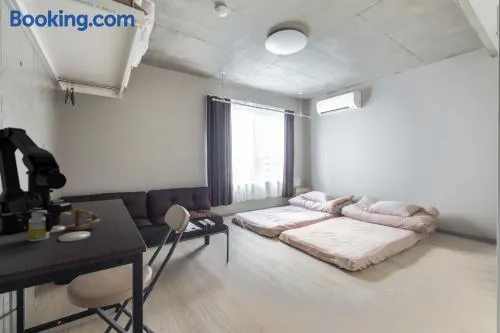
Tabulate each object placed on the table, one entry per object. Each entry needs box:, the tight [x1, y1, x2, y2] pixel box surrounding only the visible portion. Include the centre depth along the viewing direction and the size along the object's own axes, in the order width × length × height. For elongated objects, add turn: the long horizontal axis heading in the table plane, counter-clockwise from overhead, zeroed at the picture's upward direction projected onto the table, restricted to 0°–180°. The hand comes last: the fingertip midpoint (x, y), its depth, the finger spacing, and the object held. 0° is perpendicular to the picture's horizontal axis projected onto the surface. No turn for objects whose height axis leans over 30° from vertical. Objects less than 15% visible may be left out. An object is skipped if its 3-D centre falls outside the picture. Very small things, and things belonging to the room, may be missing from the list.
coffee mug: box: [38, 199, 64, 226], centre depth 98 cm, size 12×9×10 cm
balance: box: [60, 207, 101, 231], centre depth 93 cm, size 17×5×9 cm, turn 91°
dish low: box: [58, 230, 91, 243], centre depth 82 cm, size 9×9×1 cm
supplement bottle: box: [28, 210, 51, 242], centre depth 80 cm, size 5×5×10 cm
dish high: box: [49, 225, 66, 234], centre depth 89 cm, size 7×7×1 cm
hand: (39, 231), depth 80 cm, fingers open, 6 cm apart
